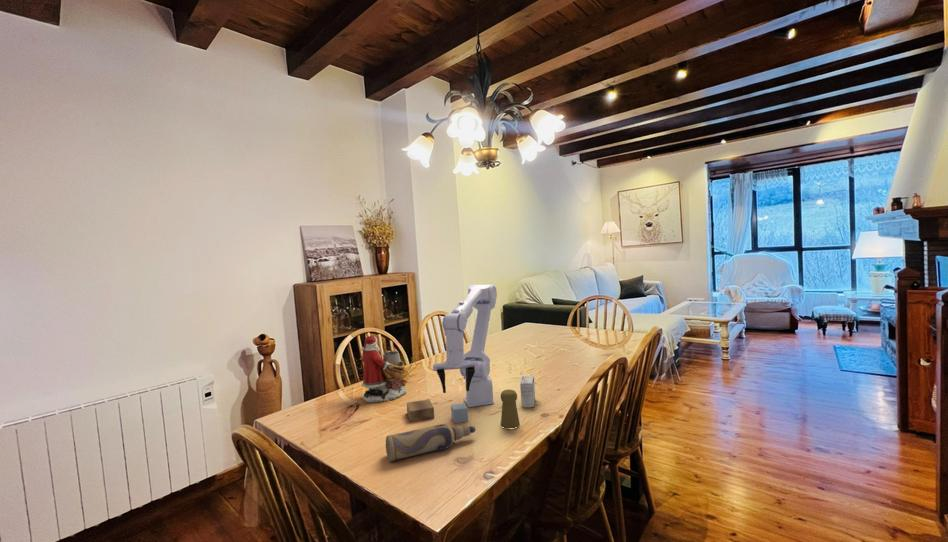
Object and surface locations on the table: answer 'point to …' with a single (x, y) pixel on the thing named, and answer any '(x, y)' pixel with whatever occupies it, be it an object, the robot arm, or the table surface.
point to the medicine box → (527, 391)
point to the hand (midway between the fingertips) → (456, 391)
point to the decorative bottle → (424, 440)
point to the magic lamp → (407, 371)
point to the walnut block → (420, 410)
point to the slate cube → (459, 413)
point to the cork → (509, 409)
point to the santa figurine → (381, 373)
